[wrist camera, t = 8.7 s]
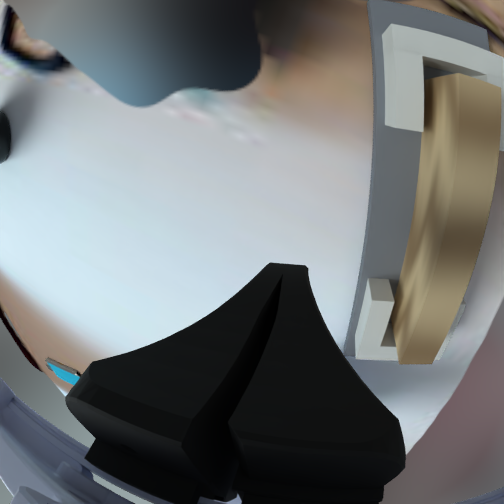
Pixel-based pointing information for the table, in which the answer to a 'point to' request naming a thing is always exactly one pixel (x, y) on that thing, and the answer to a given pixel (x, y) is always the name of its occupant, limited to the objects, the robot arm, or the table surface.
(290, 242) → the table surface
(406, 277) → the slat
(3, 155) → the supplement bottle
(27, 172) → the table surface
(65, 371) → the phone stand
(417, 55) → the cradle
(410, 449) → the table surface
